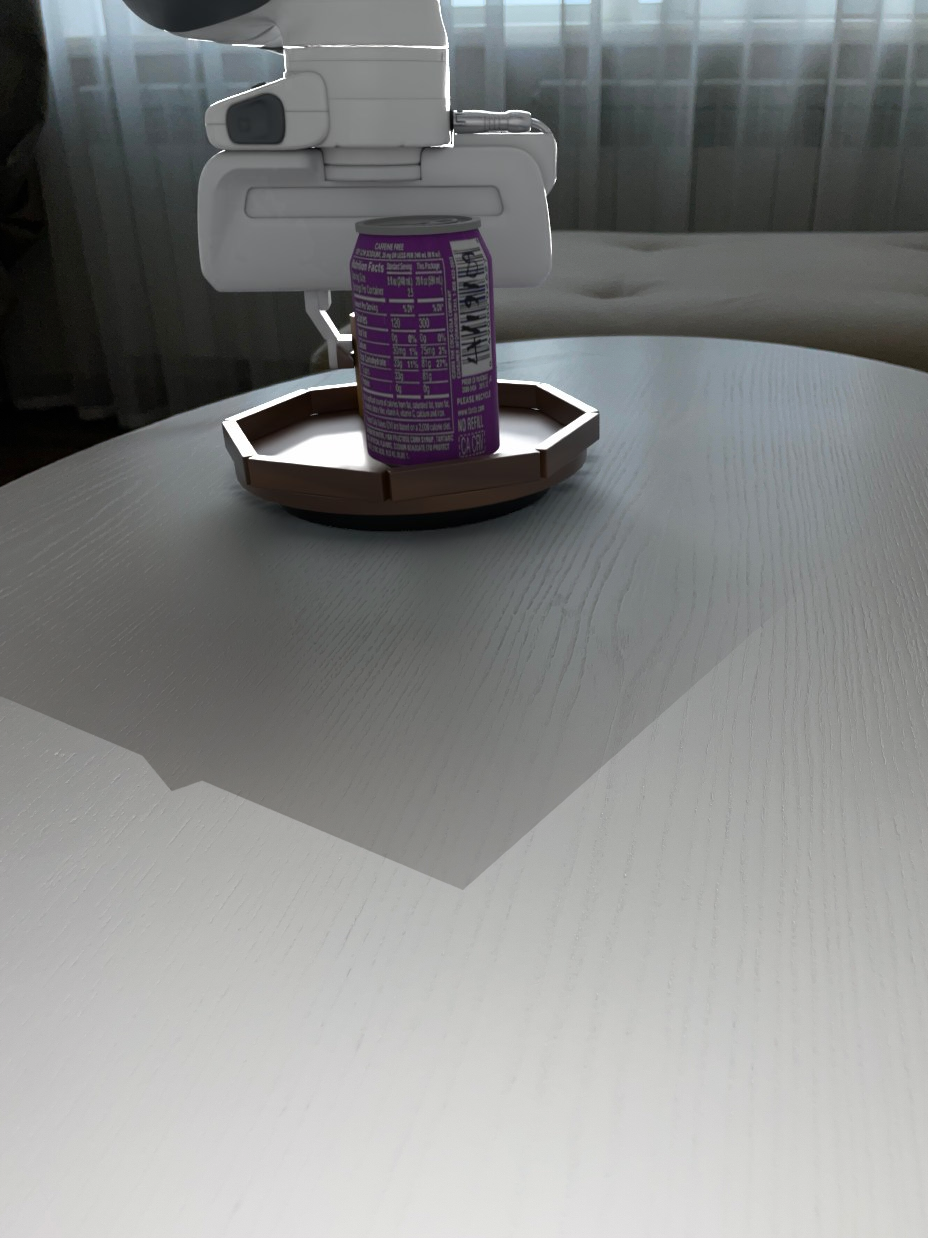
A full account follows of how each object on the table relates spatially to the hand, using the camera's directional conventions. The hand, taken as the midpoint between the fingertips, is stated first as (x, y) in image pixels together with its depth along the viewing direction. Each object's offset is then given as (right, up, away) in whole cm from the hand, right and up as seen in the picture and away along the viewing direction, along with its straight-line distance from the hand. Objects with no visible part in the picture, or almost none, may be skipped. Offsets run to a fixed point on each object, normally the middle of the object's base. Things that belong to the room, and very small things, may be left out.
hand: (385, 366), depth 67 cm
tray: (+2, -7, -4) cm, 8 cm away
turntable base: (+2, -8, -3) cm, 9 cm away
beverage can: (+4, -8, -8) cm, 12 cm away
